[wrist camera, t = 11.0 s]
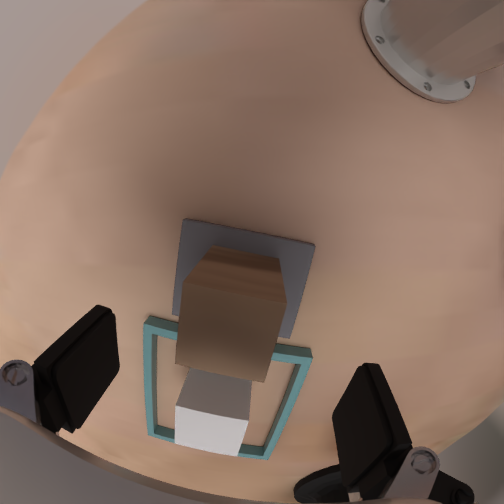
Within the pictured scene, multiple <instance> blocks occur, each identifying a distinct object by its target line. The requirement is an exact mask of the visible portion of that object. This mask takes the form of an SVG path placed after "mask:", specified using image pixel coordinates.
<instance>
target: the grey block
mask: <svg viewBox="0 0 504 504" xmlns="http://www.w3.org/2000/svg"><path fill="white" fill-rule="evenodd" d="M251 385H252V380H246V379H240V378H235V377H230V376H225V375H220V374H216V373H211V372H207V371H202V370H198V369H194V368H190V369H189V372H188V374H187V377H186V380H185V382H184V385H183V387H182V390H181V393H180V395H179V398H178V401H177V403H176V408H175V444H179V445H183V446H187V447H191V448H195V449H200V450H204V451H209V452H214V453H219V454H225V455H231V456H237V455H238V452H239V449H240V446H241V443H242V440H243V437H244V434H245V431H246V428H247V425H248V422H249V412H250V399H251Z"/></svg>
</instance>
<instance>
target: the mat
mask: <svg viewBox="0 0 504 504" xmlns="http://www.w3.org/2000/svg"><path fill="white" fill-rule="evenodd" d="M212 245H216V246H221V247H225V248H230V249H235V250H240V251H245V252H250V253H254V254H259V255H264V256H269V257H274V258H279V261H280V266H281V272H282V277H283V283H284V288H285V294H286V299H287V306H286V310H285V314H284V317H283V321H282V324H281V328H280V331H279V335H278V337H283V338H289V339H290V336H291V333H292V330H293V326H294V323H295V320H296V316H297V313H298V309H299V306H300V302H301V299H302V295H303V292H304V288H305V284H306V281H307V277H308V273H309V269H310V265H311V262H312V258H313V254H314V250H315V245H314V244H311V243H306V242H302V241H297V240H292V239H287V238H283V237H278V236H273V235H268V234H263V233H258V232H253V231H248V230H243V229H238V228H233V227H228V226H223V225H218V224H213V223H208V222H203V221H197V220H192V219H187V218H186V219H183V223H182V230H181V237H180V244H179V252H178V260H177V268H176V277H175V287H174V297H173V308H172V315H176V316H179V312H180V303H181V294H182V285H183V281H184V280H185V279H186V277H187V276H188V275H189V274H190V272H191V271H192V270H193V269H194V267H195V266H196V265H197V264H198V262H199V261H200V260H201V259H202V258H203V256H204V255H205V254H206V253H207V251H208V250H209V249H210V248H211V247H212Z"/></svg>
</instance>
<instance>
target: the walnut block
mask: <svg viewBox="0 0 504 504" xmlns="http://www.w3.org/2000/svg"><path fill="white" fill-rule="evenodd" d="M286 306H287V299H286V294H285V288H284V283H283V277H282V272H281V266H280V261H279V258H274V257H269V256H264V255H259V254H254V253H250V252H245V251H240V250H235V249H230V248H225V247H221V246H216V245H212V247H211V248H210V249H209V250H208V251H207V253H206V254H205V255H204V256H203V258H202V259H201V260H200V261H199V262H198V264H197V265H196V266H195V267H194V269H193V270H192V271H191V272H190V274H189V275H188V276H187V277H186V279H185V280H184V281H183V285H182V294H181V303H180V312H179V322H178V333H177V345H176V358H175V364H178V365H182V366H186V367H190V368H194V369H198V370H202V371H207V372H211V373H216V374H220V375H225V376H230V377H235V378H240V379H246V380H252V381H257V382H264V381H265V378H266V375H267V371H268V368H269V365H270V362H271V358H272V355H273V352H274V348H275V345H276V342H277V338H278V335H279V331H280V328H281V324H282V321H283V317H284V314H285V310H286Z"/></svg>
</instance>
